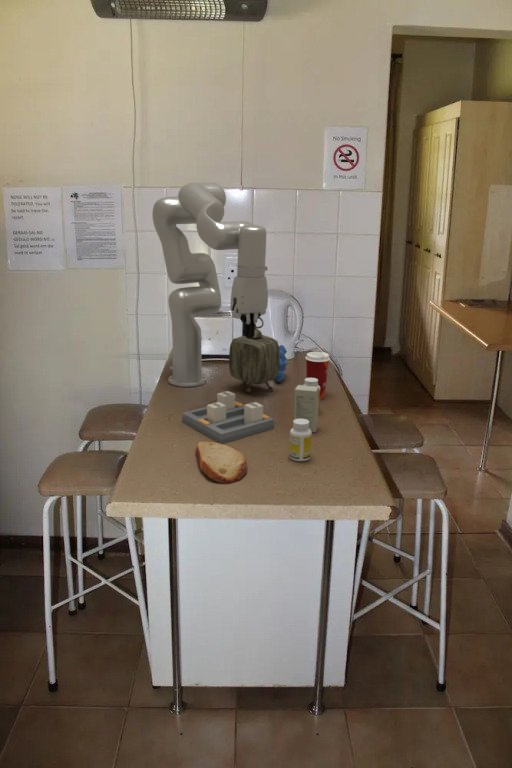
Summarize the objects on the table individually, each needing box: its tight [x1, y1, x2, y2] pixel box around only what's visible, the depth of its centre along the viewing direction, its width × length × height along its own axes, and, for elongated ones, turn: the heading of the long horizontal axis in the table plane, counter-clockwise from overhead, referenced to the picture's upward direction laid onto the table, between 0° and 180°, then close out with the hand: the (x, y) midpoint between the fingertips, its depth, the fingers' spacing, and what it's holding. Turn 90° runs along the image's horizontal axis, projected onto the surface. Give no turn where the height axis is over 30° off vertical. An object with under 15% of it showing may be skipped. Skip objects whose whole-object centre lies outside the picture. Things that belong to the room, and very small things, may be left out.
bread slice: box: [195, 441, 248, 485], centre depth 162 cm, size 18×18×4 cm
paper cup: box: [305, 351, 331, 400], centre depth 209 cm, size 8×8×14 cm
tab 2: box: [243, 401, 264, 425], centre depth 184 cm, size 3×4×6 cm
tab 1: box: [206, 401, 226, 424], centre depth 183 cm, size 3×4×6 cm
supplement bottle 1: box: [288, 419, 313, 462], centre depth 166 cm, size 5×5×10 cm
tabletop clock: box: [228, 316, 280, 393], centre depth 211 cm, size 14×9×25 cm, turn 53°
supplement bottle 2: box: [303, 377, 321, 413], centre depth 196 cm, size 6×6×10 cm
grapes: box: [274, 344, 288, 383], centre depth 224 cm, size 12×7×12 cm, turn 171°
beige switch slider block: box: [216, 390, 236, 410], centre depth 192 cm, size 3×4×6 cm
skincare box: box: [293, 384, 320, 433], centre depth 183 cm, size 6×4×12 cm
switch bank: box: [181, 400, 275, 444], centre depth 186 cm, size 19×18×3 cm
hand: (248, 336), depth 187 cm, fingers closed
